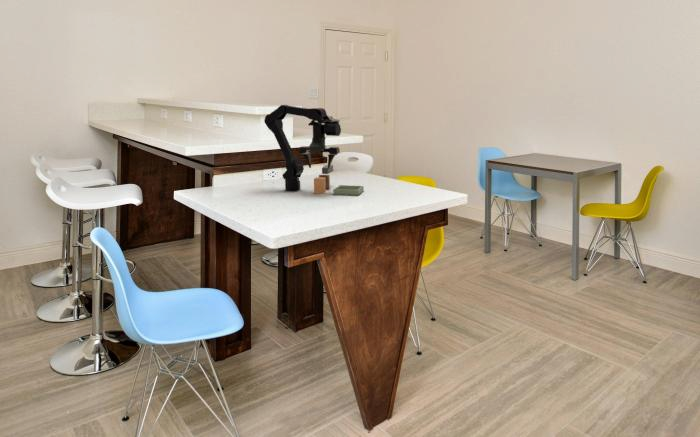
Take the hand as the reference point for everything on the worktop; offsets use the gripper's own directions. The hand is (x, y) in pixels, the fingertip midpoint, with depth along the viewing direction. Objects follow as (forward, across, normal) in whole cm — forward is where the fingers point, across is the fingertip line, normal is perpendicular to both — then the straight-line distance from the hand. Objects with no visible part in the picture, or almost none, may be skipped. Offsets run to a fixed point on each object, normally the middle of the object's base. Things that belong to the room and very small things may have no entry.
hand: (319, 168), depth 253 cm
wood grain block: (+12, 0, +8) cm, 14 cm away
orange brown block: (+12, 0, 0) cm, 12 cm away
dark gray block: (+4, 0, +14) cm, 15 cm away
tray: (+12, +14, +1) cm, 18 cm away
